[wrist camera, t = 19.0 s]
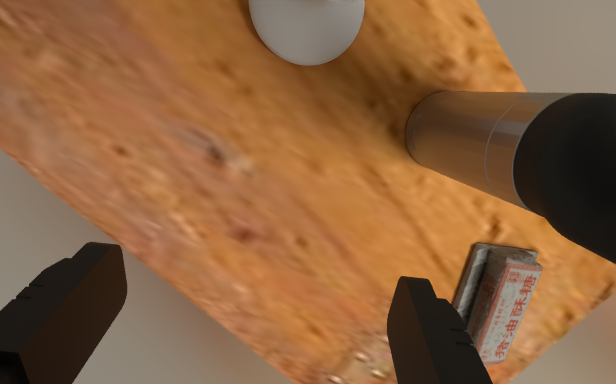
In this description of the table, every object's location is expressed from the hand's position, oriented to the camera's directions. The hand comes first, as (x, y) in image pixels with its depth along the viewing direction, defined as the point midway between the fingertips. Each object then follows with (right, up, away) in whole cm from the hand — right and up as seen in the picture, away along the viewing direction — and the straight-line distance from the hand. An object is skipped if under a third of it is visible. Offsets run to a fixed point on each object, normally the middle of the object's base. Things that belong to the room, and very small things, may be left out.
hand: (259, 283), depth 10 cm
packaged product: (+27, -13, +41) cm, 51 cm away
